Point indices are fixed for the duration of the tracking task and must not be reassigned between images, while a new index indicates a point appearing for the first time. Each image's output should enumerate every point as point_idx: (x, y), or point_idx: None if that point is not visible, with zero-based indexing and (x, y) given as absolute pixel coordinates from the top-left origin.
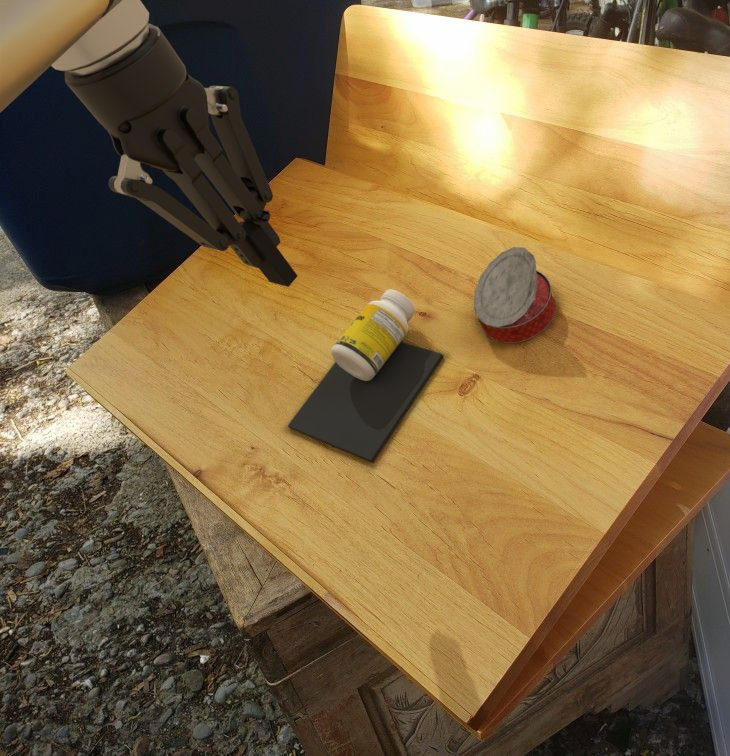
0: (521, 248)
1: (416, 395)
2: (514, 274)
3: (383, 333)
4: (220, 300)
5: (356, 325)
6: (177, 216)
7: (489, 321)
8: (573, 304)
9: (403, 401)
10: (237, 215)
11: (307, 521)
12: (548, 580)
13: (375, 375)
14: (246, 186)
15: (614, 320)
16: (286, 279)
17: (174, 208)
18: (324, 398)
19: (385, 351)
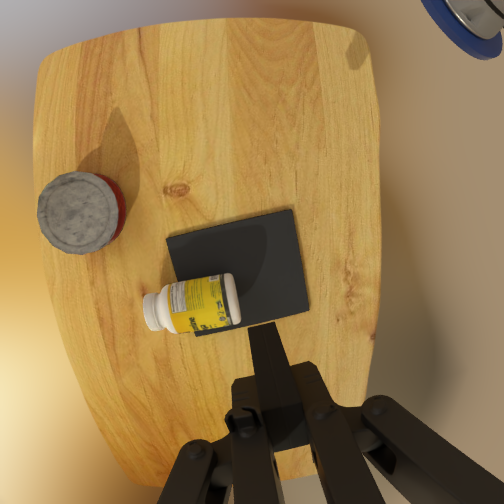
0: (39, 219)
1: (214, 226)
2: (63, 212)
3: (189, 289)
4: None
5: (202, 317)
6: (482, 475)
7: (114, 209)
8: (65, 173)
9: (227, 230)
10: (276, 462)
11: (358, 218)
12: (276, 26)
13: None
14: (217, 496)
15: (64, 130)
16: (270, 329)
17: (486, 493)
18: (270, 304)
19: (201, 278)
